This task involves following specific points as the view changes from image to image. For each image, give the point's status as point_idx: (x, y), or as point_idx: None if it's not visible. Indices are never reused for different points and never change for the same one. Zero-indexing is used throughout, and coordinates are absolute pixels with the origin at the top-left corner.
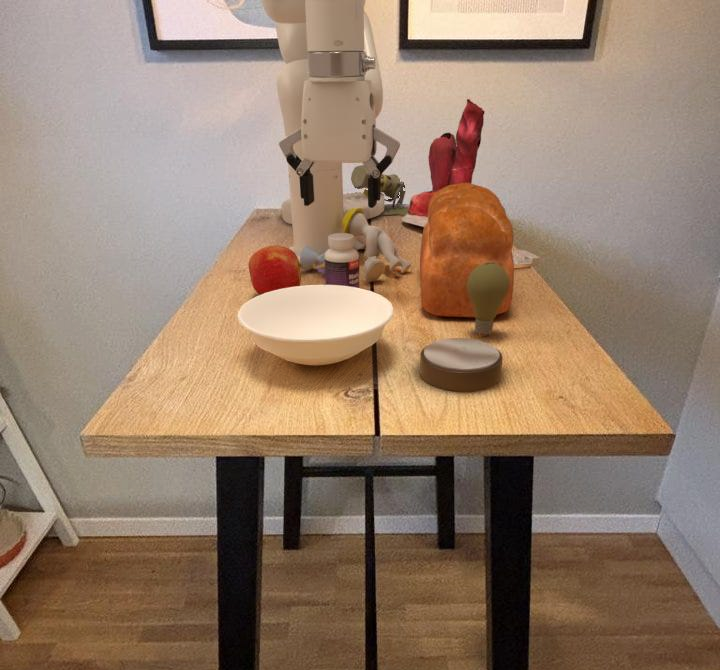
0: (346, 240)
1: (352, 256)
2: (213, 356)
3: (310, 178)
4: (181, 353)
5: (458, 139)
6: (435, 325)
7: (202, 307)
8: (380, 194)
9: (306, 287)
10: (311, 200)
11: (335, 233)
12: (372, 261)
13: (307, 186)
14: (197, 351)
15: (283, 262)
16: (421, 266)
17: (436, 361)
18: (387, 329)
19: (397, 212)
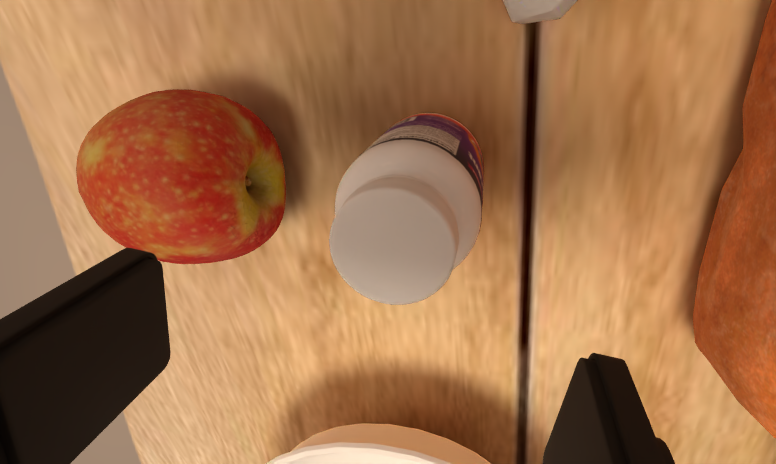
0: (421, 299)
1: (454, 267)
2: (228, 452)
3: (32, 419)
4: (172, 436)
5: None
6: (702, 372)
7: (86, 227)
8: (669, 457)
9: (339, 452)
10: (155, 321)
11: (354, 199)
12: (545, 11)
13: (85, 446)
14: (193, 433)
15: (209, 258)
16: (765, 265)
17: None
18: (559, 383)
19: None
